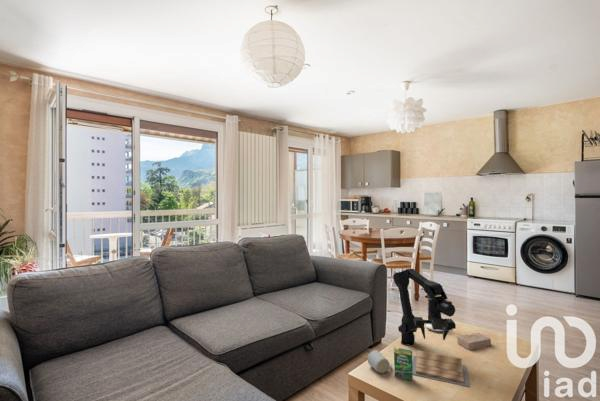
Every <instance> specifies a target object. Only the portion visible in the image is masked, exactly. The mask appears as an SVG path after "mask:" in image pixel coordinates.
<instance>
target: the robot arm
mask: <svg viewBox="0 0 600 401" xmlns="http://www.w3.org/2000/svg"><path fill="white" fill-rule="evenodd" d="M392 277H393V282H394V284H395V285H396V287H397V289H398V293H399V298H400V303H401V309H402V317H401V324H400V325H399V326H398V327H397V328H398V332H399V333H401V334H400V335H401V337H400V338H401V340H400V345H401V344H402V345H406V346H412V347H413V346H414V344H415V338H416V336H415V334H414V333H417V331H418V328H419V329H420V330H421V334H422V337H423V339H424V340H425V339H426V333H425V332H426V331H425V329H426V327H425V325H426V324H432V328H433V329H434V330H436V329H438V330H443V331H442V340H443V341H445V340H446V338H447V336H448V333H449V332H450V331H452V330H455V329H456V326H457V325H456V322H455V321H454V320H453V319H452V318H446V317H453V316H454V315H455V312H456V307H455V305H454V304H453V302H452V301H450V300H448V296H447V294H446V291H445V290H444V288H443V286H442V285H441V283H439V282H436V281H433V280H430V279H427V277H425V276H424V275H422V274H420V273H419V272H417V271H416V270H415V269H414V268H406V269H404V270H401V271H398V272H394V274H393V276H392ZM410 279H411V280H412V281H413V282H415V283H416V284H417V285H418V286H420V287H421V288H423V291H424V293H426V295H425V296H424V298H426V299H427V300H428V301H427V302H428V303H427V306H428V308H427V319H423V317H422V316H420V317H419V316H415V315H414V313H413V309H412V304H411V299H410V292H409V284H410ZM438 295H440V296H438ZM436 296H438V297H436ZM442 314H443V315H446V317H445V318H443V317H442Z"/></svg>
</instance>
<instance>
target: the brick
mask: <svg viewBox="0 0 600 401" xmlns="http://www.w3.org/2000/svg"><path fill="white" fill-rule="evenodd" d="M456 341H457V344H458V345H460V347H463V348H464V349H466V350H468V351H473V350H478V349H482V348H487V347H489V346H492V339H491V337H489V336H488V335H485V334H483V333H481V332H476V333H471V334H465V335H458V336H457V340H456Z"/></svg>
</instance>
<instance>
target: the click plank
mask: <svg viewBox="0 0 600 401" xmlns="http://www.w3.org/2000/svg"><path fill="white" fill-rule="evenodd" d="M416 356H417V362H416V363H417V364H422V365H427V366H432V367H437V368H442V369H447V370H452V371H457V372H462V365H463V361H462V358H461V357H455V356H448V355H444V354H438V353H433V352H428V351H424V350H423V351H422V350H419V349H418V350H416Z"/></svg>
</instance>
